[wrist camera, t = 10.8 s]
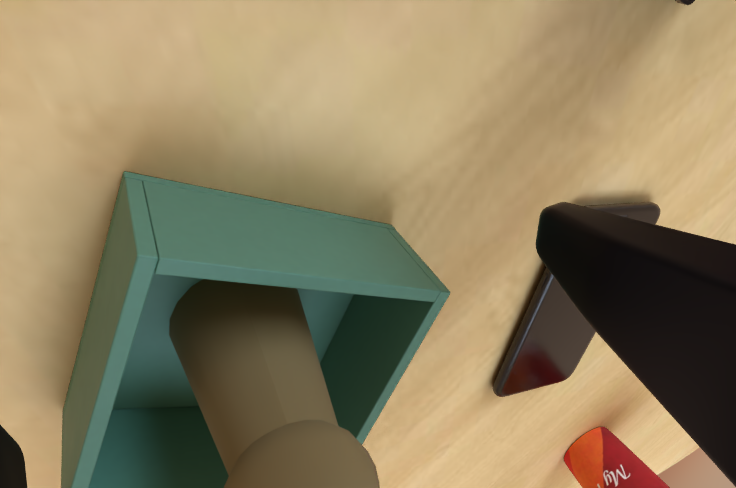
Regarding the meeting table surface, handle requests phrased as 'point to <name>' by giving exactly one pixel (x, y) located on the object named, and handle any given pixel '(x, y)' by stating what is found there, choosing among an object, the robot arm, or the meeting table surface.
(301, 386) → the brown pawn
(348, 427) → the tote
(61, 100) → the meeting table surface
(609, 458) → the paper cup
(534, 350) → the smartphone
